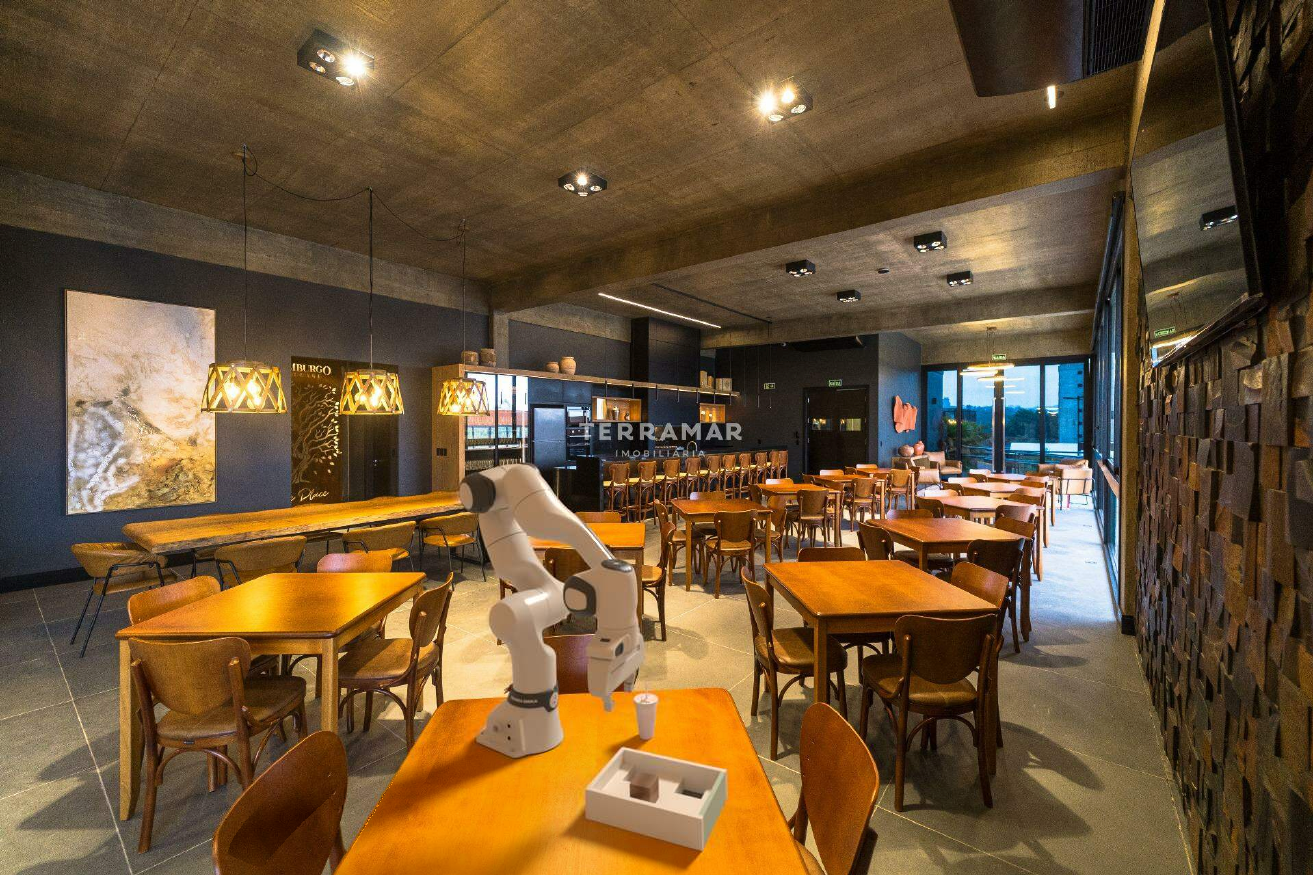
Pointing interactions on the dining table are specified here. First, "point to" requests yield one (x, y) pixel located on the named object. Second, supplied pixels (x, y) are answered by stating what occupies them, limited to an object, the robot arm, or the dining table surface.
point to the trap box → (683, 797)
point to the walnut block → (645, 787)
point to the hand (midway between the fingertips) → (619, 700)
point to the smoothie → (646, 713)
